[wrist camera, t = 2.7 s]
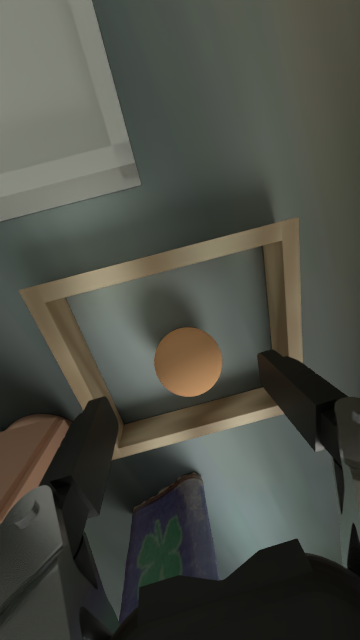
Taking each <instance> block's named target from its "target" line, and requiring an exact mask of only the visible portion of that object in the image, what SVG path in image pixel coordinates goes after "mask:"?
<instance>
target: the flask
mask: <svg viewBox="0 0 360 640" xmlns="http://www.w3.org/2000/svg"><path fill="white" fill-rule="evenodd" d="M200 477H201V476H200V475H197V474H196V473H195V472H193V473H192V474H189V475H184V476H181V477H179V478H178V481H176V482H174V483H173V484H170V485H169V486H166V487H165V488H163V489H162V490H160V491H159V493H158V494H157V495H156V496H155V497H154V496H152V497H151V498H150V500H148V501H143V503H142V504H141V505H138V506H135V507H134V509H133V515H132V524H131V534H130V542H129V549H128V555H127V560H126V569H125V581H124V589H123V594H122V603H121V611H120V617H119V624H120V625H121V623H122V622H123V621H124V619H125V618H126V617H127V616H128V615H129V614H130V613H131V612H132V611H133V610H134V609H135V608H136V607H138V600H139V587H142V586H145V585H148V584H151V583H155V582H158V581H161V580H164V579H168V578H171V577H174V576H177V575H182V576H189V577H196V578H204V579H211V580H219V574H218V568H217V562H216V555H215V549H214V543H213V537H212V533H211V529H210V522H209V517H208V510H207V506H206V499H205V492H204V484H203V481H202V479H201V478H200Z"/></svg>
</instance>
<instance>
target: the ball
mask: <svg viewBox="0 0 360 640" xmlns="http://www.w3.org/2000/svg"><path fill="white" fill-rule="evenodd" d="M154 365H155V370H156V374H157V376H158V378H159V380H160V382H161V383H162V384H163V385H164V386H165V387H166V388H167V389H168V390H169V391H171V392H172V393H174V394H177V395H180V396H185V397H192V396H197V395H200V394H203V393H205V392H206V391H208V390H209V389H210V388H212V387H213V385H214V384H215V383H216V381H217V380H218V378H219V376H220V373H221V369H222V355H221V351H220V349H219V347H218V345H217V343H216V341H215V340H214V339H213V338H212V337H211V336H210V335H209V334H207V333H206V332H204V331H202V330H200V329H197V328H192V327H183V328H179V329H176V330H174V331H172V332H170V333H169V334H167V335H166V336H165V337H164V338H163V339H162V340H161V342H160V343H159V345H158V347H157V349H156V353H155V358H154Z"/></svg>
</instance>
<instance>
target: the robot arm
mask: <svg viewBox="0 0 360 640" xmlns="http://www.w3.org/2000/svg"><path fill="white" fill-rule="evenodd" d="M257 357H258V366H259V375H260V380H261V383H262V385H263V387H264V389H265V390H266V392H267V393H268V394H269V395H270V396H271V398H272V399H273V400H274V401H275V403H276V404H277V405H278V406H279V408H280V409H281V410H282V411H283V413H284V414H285V415H286V416H287V418H288V419H289V420H290V421H291V422H292V424H293V425H294V426H295V427H296V429H297V430H298V431H299V432H300V434H301V435H302V436H303V437H304V439H305V440H306V441H307V442H308V444H309V445H310V446H311V447H312V449H313V450H314V451H315V452H317V451H320V450H324V449H326V450H327V451H328V452H329V453H330V454H331V456H332V467H333V475H334V482H335V490H336V497H337V505H338V512H339V521H340V539H341V551H342V561H343V566H341V565H340V564H338V563H336V562H334V561H331V560H329V559H327V558H324V557H321V556H318V555H314V554H310V553H304V551H303V549H302V547H301V545H300V543H299V541H298V539H294V540H291V541H287V542H284V543H281V544H278V545H275V546H271V547H268V548H265V549H262V550H259V551H258V552H257V553H255V554H254V555H253V556H252V557H251V558H249V559H248V560H247V561H246V562H245V563H244V564H242V565H241V566H240V567H239V568H238V569H237V570H235V571H234V572H233V573H232V574H231V575H229V576H228V577H227V578H226V579H224V580H211V579H204V578H196V577H189V576H182V575H177V576H174V577H171V578H168V579H164V580H161V581H158V582H155V583H151V584H148V585H145V586H142V587H139V600H138V607H136V608H135V609H134V610H133V611H132V612H131V613H130V614H129V615H128V616H127V617H126V618H125V619H124V621H123V622H122V623H121V625H120V624H119V621H118V619H117V617H116V614H115V612H114V610H113V608H112V606H111V604H110V602H109V600H108V598H107V596H106V594H105V591H104V588H103V585H102V582H101V579H100V576H99V573H98V570H97V566H96V563H95V560H94V557H93V554H92V551H91V547H90V544H89V541H88V538H87V535H86V533H85V531H84V528H85V524H86V520H87V518H91V517H94V516H98V515H99V514H100V509H101V505H102V500H103V496H104V492H105V487H106V483H107V479H108V474H109V470H110V465H111V461H112V457H113V452H114V448H115V444H116V439H117V435H118V430H119V425H118V419H117V417H116V415H115V413H114V411H113V409H112V406H111V404H110V402H109V400H108V398H107V397H106V396H103V397H100V398H96V399H93V400H89V401H88V403H87V405H86V407H85V409H84V411H83V413H82V414H79V415H78V417H77V418H76V419H75V420H74V421H73V422H72V423H71V425H70V427H69V428H68V430H67V432H66V434H65V437H64V438H63V440H62V442H61V444H60V447H59V448H58V449H57V451H56V453H55V455H54V457H53V459H52V461H51V463H50V465H49V467H48V469H47V470H46V472H45V474H44V476H43V478H42V480H41V482H40V484H39V486H38V487H36V488H34V489H33V490H31V491H29V492H28V493H27V494H25V495H24V496H23V497H22V498H21V499H20V500H19V501H18V502H17V503H16V504H15V505H14V506H13V507H12V508H11V510H10V511H9V512H8V514H7V515H6V517H5V518H4V520H3V522H2V523H1V524H0V640H360V398H356V397H348V396H347V395H345V394H344V393H342V392H341V391H340V390H338V389H337V388H336V387H334V386H333V385H332V384H330V383H329V382H327V381H326V380H325V379H323V378H322V377H321V376H319V375H318V374H315V372H314V371H312V370H311V369H310V368H308V367H307V366H306V365H304V364H303V363H302V362H300V361H299V360H296V359H294V358H291V357H289V356H285V357H283V356H282V355H280V354H279V353H278V352H276V351H275V350H273V349H272V350H268V351H265V352H261V353H258V355H257Z"/></svg>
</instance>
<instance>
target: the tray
mask: <svg viewBox="0 0 360 640" xmlns="http://www.w3.org/2000/svg"><path fill="white" fill-rule="evenodd" d="M140 185H141V182H140V178H139V174H138V171H137V167H136V163H135V159H134V156H133V152H132V148H131V144H130V141H129V137H128V133H127V130H126V126H125V122H124V118H123V115H122V111H121V107H120V103H119V100H118V96H117V92H116V88H115V85H114V81H113V77H112V73H111V70H110V66H109V62H108V58H107V55H106V51H105V47H104V43H103V40H102V36H101V32H100V28H99V25H98V21H97V17H96V13H95V10H94V6H93V2H92V0H0V222H1V221H4V220H8V219H12V218H16V217H20V216H24V215H28V214H31V213H35V212H39V211H43V210H47V209H51V208H55V207H59V206H62V205H66V204H70V203H74V202H78V201H82V200H86V199H90V198H93V197H97V196H101V195H105V194H109V193H113V192H117V191H120V190H124V189H128V188H132V187H136V186H140Z"/></svg>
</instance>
